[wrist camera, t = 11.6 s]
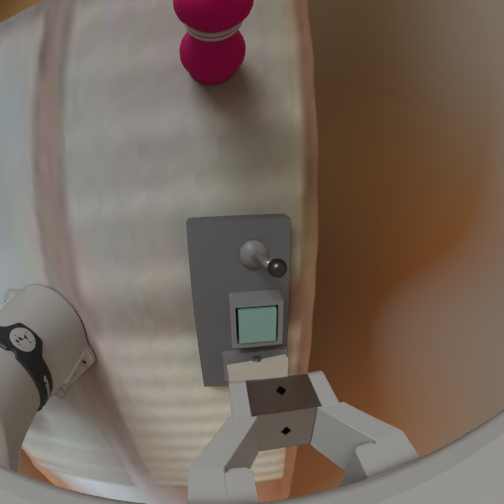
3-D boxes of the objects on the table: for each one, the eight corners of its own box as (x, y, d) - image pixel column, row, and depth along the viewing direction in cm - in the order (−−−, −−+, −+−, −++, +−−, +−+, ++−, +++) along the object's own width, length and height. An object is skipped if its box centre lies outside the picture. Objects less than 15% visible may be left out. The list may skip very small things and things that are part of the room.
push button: (271, 327, 38) (275, 340, 35) (237, 330, 37) (239, 343, 34) (271, 297, 36) (276, 308, 34) (236, 300, 36) (238, 311, 33)
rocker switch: (282, 374, 40) (287, 382, 38) (227, 385, 38) (230, 393, 36) (283, 350, 38) (288, 357, 37) (225, 361, 36) (228, 369, 35)
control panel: (280, 367, 44) (289, 392, 38) (204, 373, 43) (204, 400, 37) (284, 213, 37) (297, 222, 31) (188, 218, 36) (183, 228, 30)
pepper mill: (171, 68, 30) (134, -18, 11) (209, 30, 29) (210, -71, 10) (216, 99, 32) (220, 27, 13) (253, 59, 31) (293, -30, 12)
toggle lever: (261, 262, 35) (290, 278, 29) (246, 265, 34) (273, 282, 29) (261, 245, 34) (291, 259, 29) (245, 248, 33) (273, 263, 28)
